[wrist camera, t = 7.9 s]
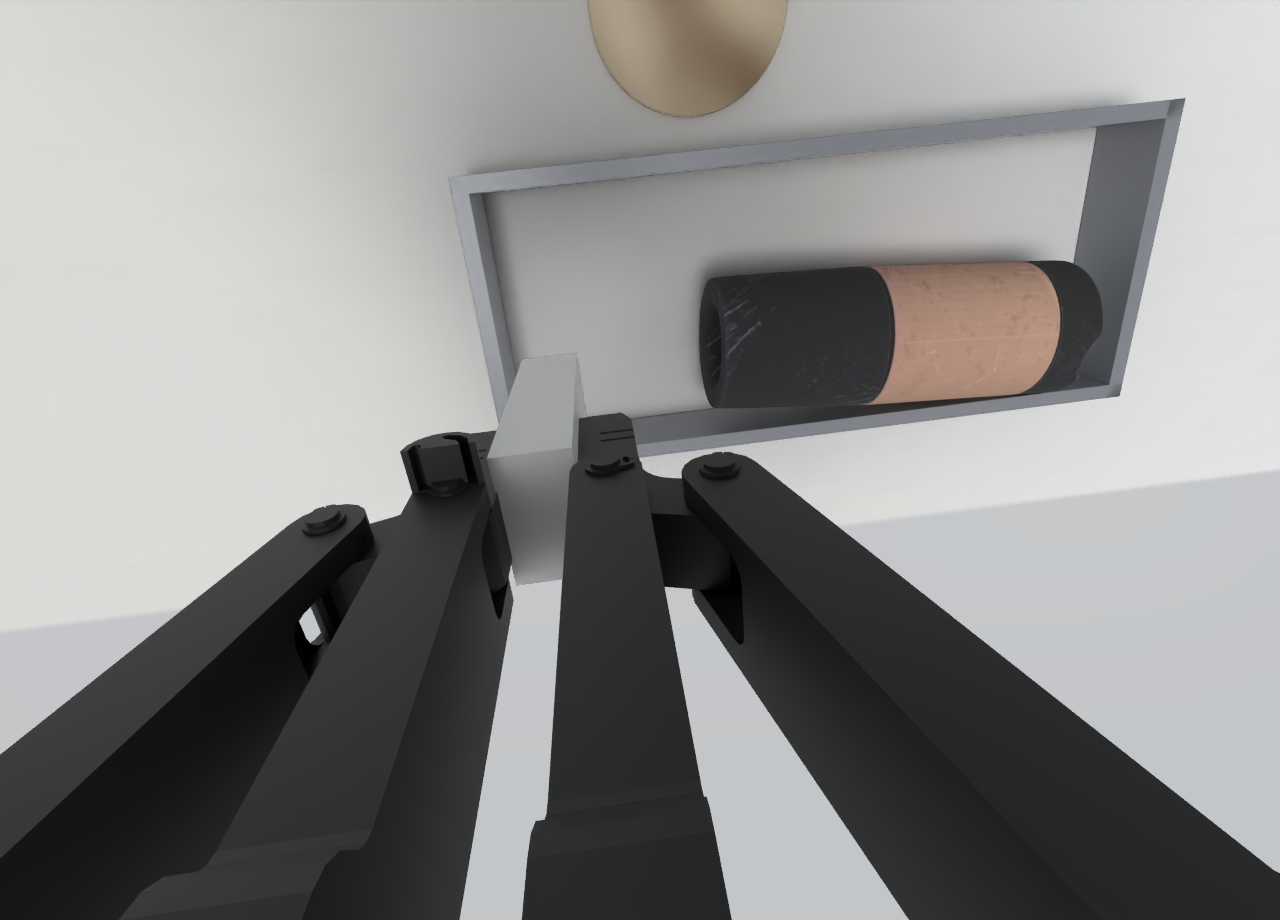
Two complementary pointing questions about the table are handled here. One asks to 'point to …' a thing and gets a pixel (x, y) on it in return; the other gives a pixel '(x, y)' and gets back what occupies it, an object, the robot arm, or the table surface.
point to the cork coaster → (687, 49)
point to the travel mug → (896, 333)
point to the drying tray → (1115, 196)
